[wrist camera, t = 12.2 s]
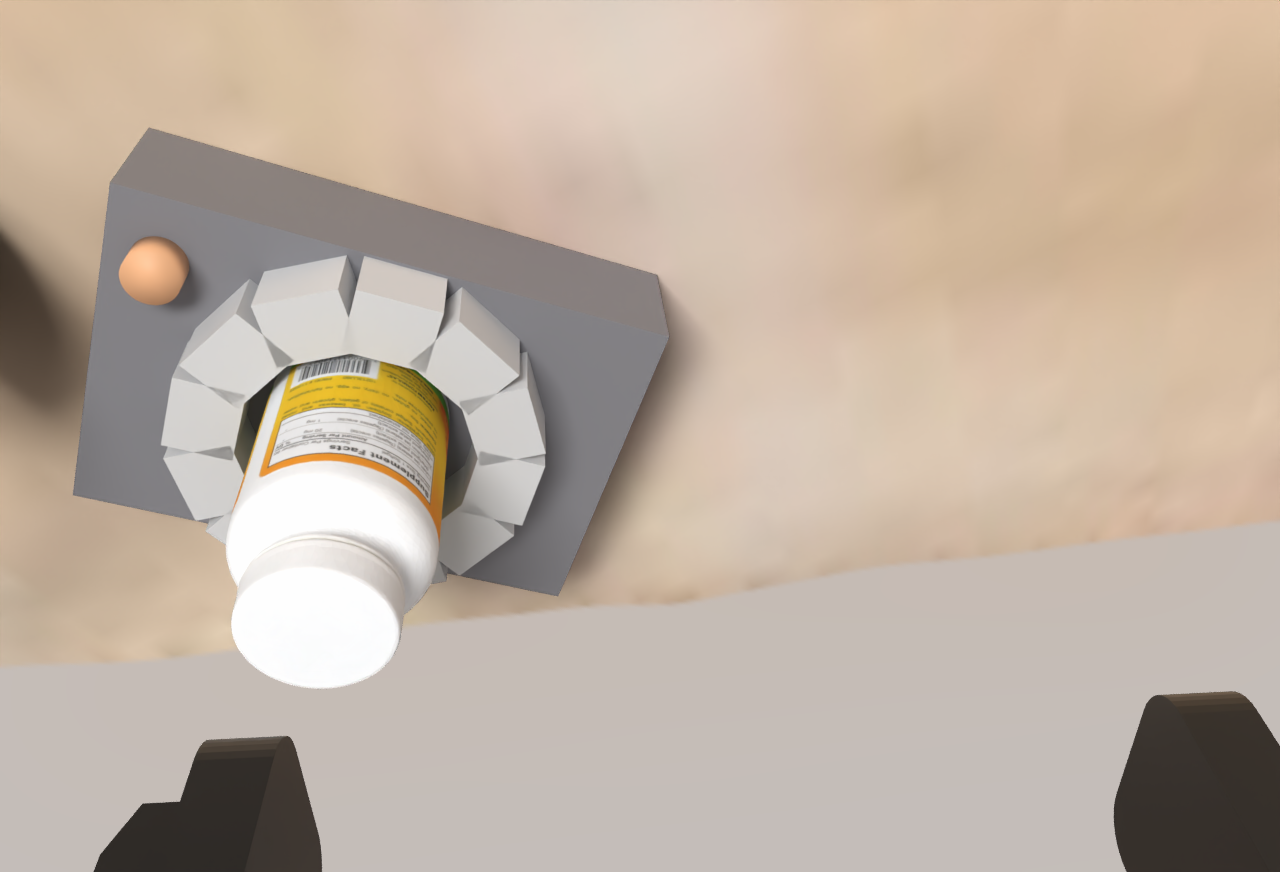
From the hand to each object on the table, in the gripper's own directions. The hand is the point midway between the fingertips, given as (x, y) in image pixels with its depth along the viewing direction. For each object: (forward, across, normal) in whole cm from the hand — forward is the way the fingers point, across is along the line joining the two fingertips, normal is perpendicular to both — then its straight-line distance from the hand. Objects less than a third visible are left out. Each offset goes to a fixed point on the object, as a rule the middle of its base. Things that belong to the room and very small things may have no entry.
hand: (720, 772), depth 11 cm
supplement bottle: (+23, +8, +10) cm, 27 cm away
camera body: (+27, +8, +11) cm, 31 cm away
